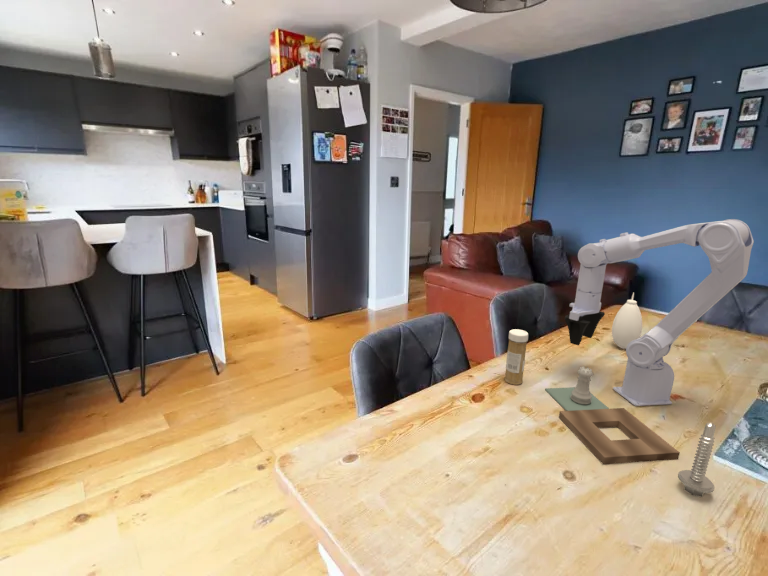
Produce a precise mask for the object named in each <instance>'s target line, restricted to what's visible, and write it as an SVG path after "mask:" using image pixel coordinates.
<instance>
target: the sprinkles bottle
mask: <svg viewBox="0 0 768 576" xmlns="http://www.w3.org/2000/svg"><path fill="white" fill-rule="evenodd" d="M528 341H529V333H528V332H527V331H526V330H523V329H519V328H517V329H516V328H515V329H513V328H512V329H511V330H509V332H508V346H507V352H506V353H507V354H506V363H505V373H504V379H503V380H504V381H505V382H506V383H508V384H510V385H512V386H513V385H514V386H516V385H517V386H518V385H521V384H522V383H523V382H524V379H523V378H524V371H525V362H526V353H527V352H526V351H527V343H528Z"/></svg>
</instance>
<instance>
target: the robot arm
mask: <svg viewBox="0 0 768 576" xmlns="http://www.w3.org/2000/svg"><path fill="white" fill-rule="evenodd" d="M754 242H755V240H754V238H753V234H752V232H751V229H750V227H749V225H748V224H747V223H745V222H744V221H742V220H740V219H737V218H736V219H735V218H731V219H730V218H729V219H725V220H718V221H709V222H700V223H692V224H686V225H681V226H678V227H674V228H670V229H667V230H663V231H660V232H655V233H652V234H647V235H645V236H640V235H638V234H636V233H629V232H627V231H626V232H622V233H620V234H619V236H617V237H614V238H609V239H606V238H602V239H599V242H594V243H592V242H591V243H587V244H585V245H583V246H581V248H580V249H578V253H577V259H578V262H579V263H580V265H579V272H578V279H577V284H576V290H575V291H576V292H575V297H574V298H575V299H574V302H571V303H569V307H570V308H572V309H571V311H569V314H567V315H565V316H564V321H565V323H566V326H567V329H568V334H569V335H568V336H569V342H570V344H572V345H575V346H580V344H581V342H582V339H583V337H585V338H589V339H592V338H593V336H594V334H595V331H596V328H597V326H598V324H599V323H600V322H601V320H602V319H603V317H604V316H605V312H604V311H600V310H601V309H602V308H601V307H602V302H601V299H602V294H603V293H602V292H603V287H604V282H605V276H606V269H607V265H608V264H615V263H619V262H624V261H625V262H626V261H629V260H633V259H638V258H640V257H641V255H642V254H643V253H644V252H645V251H647V250H652V249H657V248H663V247H668V246H673V245H678V244H685V245H688V246H691V247H694V248H695V247H699V246H700V247H701V250H702V251H703V252H704V254H706V256H707V257H708V260H709V265H710V270H711V272H710V273H709V274H708V275H707V276H706V277H705V278H704V279H703V280H702V281H701V282H700V283H699V284H698V285H697V286H695V288H693V289H692V291H690V292H689V293H688V294H687V295H686V296H685V297H684V298H683V299H681V301H680V302H679V303H678V304H677V305H675V307H674V308H672V309H671V310H670V312H668V314H666V315H665V316H664V317H663V318H662V319H661V320H660V321H659V322H657V324H655V325H654V327H652V328H651V329H649V330H647V332H645V333H644V334H643V335H642V336H640V338H638V339H636V340H633V341H631V342H630V343H629V344H628V345H627V347H626V349H625V355H626V357H627V361H626V367H625V371H624V376H623V382H622V386H613V387H612V389H613V390H614V391H615V392H616V393H618V394H619V395H620V396H622V397H623V398H624V399H625V400H627V401H628V402H629V403H630V404H632V405H634V406H635V407H639V406H657V405H658V406H660V405H672V404H673V402H672V401H671V400H670V399H671V394H672V390H673V386H674V381H675V372H674V369H673V368H672V366H671V365H670V364H669V363H668V362H666V361H664V357H665V356H667V355H668V354H669V353H670V352H671V349H672V346H673V344H674V343H675V342H676V341H677V340H678V339H679V337H680V336H682V335H683V333H684V332H686V331H687V330H688V329H689V328H690V327H692V325H694V324H695V322H697V321H698V320H699V319H700V318H701V317H702V316H703V315H705V314H706V313H707V312H708V311H709V310H710V309H711V308H712V307H714V306H715V305H716V304H718V302H719V301H720V300H721V299H723V298H724V297H725V296H726V295H727V294H728V293H730V292H731V291H732V289H734V288H735V287H736V286H737V285H739V283H740V282H741V281H743V280H744V279H745V278H746V276H747V274H748V272H749V270H748V269H749V267H750V266H749V265H750V258H751V253H752V248H753V246H754Z"/></svg>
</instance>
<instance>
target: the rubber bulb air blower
mask: <svg viewBox="0 0 768 576" xmlns="http://www.w3.org/2000/svg"><path fill="white" fill-rule="evenodd" d="M634 298H635V292H632V295H631V298H630V299H627V300H626V302H625V303H624V304H623V305H622V306H621V307H620V308H619V310H618V311H617V313H616V314H615V316H614V319H613V322H612V326H611V337H612V340H613V342H614V343H615V344H616V346H617V347H619V348H620V349H623V350H626V347H627V345H628V344H629V343H630V342H631V341H633V340H636V339H638V338H640V337H642V336H641V335H642V332H643V317H642V313H641V310H640V307H639V306H638V301H636V300H634Z"/></svg>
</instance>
